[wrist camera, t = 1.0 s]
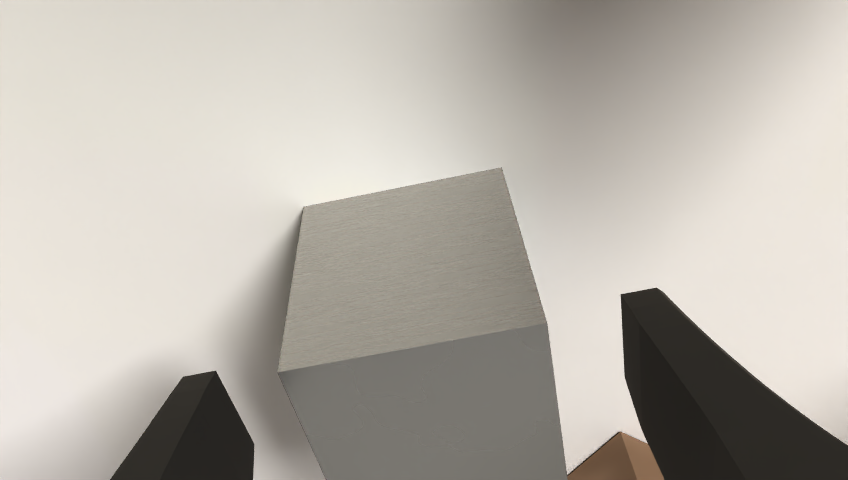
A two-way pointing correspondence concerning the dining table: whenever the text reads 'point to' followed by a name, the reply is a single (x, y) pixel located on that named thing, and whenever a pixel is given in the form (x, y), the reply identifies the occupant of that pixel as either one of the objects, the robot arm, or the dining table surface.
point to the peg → (421, 338)
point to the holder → (620, 462)
